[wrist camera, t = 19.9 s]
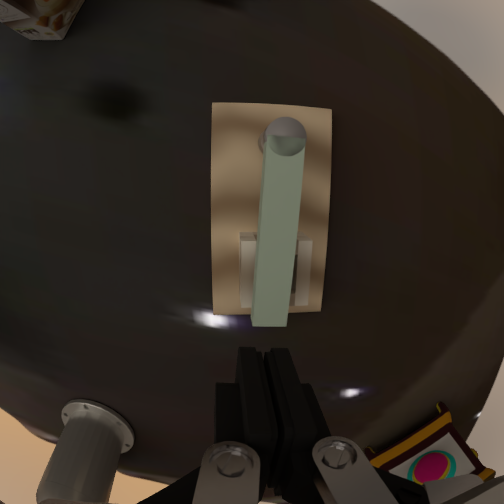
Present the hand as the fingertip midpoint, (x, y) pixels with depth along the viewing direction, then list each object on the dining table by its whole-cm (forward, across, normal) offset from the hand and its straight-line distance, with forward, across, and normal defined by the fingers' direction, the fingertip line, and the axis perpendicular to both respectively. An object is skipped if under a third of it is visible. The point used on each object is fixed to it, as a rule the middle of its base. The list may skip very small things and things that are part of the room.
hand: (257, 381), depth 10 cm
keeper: (+17, -3, -3) cm, 17 cm away
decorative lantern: (+23, -38, +39) cm, 60 cm away
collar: (+22, -4, +2) cm, 22 cm away
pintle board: (+23, -4, -3) cm, 24 cm away
